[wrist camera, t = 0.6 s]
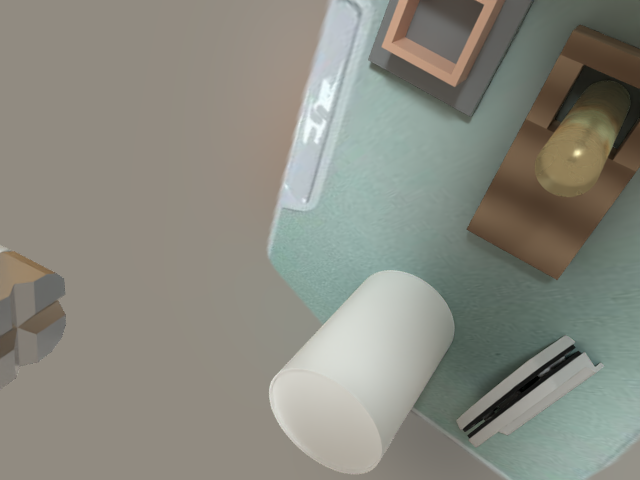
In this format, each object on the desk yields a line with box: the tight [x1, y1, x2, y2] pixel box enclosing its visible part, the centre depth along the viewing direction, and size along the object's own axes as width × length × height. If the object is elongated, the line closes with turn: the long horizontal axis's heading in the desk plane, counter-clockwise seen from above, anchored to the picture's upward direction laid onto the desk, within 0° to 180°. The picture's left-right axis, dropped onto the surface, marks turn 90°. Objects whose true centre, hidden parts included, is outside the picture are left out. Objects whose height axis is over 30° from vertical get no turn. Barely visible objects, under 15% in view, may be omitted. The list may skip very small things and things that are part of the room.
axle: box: [535, 80, 630, 197], centre depth 42 cm, size 4×4×16 cm
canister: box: [269, 270, 455, 474], centre depth 64 cm, size 14×14×20 cm
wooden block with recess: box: [467, 25, 640, 280], centre depth 50 cm, size 21×10×3 cm, turn 163°
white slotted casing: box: [456, 335, 604, 447], centre depth 62 cm, size 17×5×10 cm, turn 154°
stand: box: [368, 0, 534, 116], centre depth 50 cm, size 14×12×4 cm
